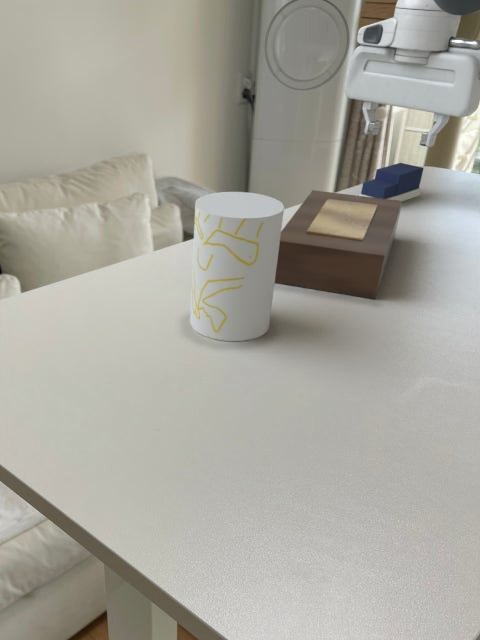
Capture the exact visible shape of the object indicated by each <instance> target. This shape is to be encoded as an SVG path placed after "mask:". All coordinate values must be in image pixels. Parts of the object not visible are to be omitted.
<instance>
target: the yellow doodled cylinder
mask: <svg viewBox="0 0 480 640" xmlns="http://www.w3.org/2000/svg"><path fill="white" fill-rule="evenodd" d="M284 211H285V205H284V204H283V202H281V201H280V200H279V199H277V198H274V197H273V196H272V197H271V196H268V195H265V194H260V193H256V192H255V193H254V192H247V191H246V192H245V191H222V192H221V191H220V192H212V193H208V194H205V195H202V196H200V197H198V198H197V199H196V200H195V204H194V222H193V223H194V224H193V225H194V226H193V243H192V245H193V246H192V265H191V270H192V271H191V285H190V287H191V288H190V293H191V294H190V307H189V308H190V309H189V325H190V326H191V328H192V329H193V330H194V331H195V332H196V333H198V334H199V335H202V336H204V337H206V338H210V339H212V340H218V341H222V342H245V341H251V340H254V339H257V338H259V337H262V336H263V335H265V334H266V333H267V332H268V331H269V329H270V321H271V314H272V307H273V299H274V290H275V284H276V283H275V275H276V268H277V260H278V252H279V244H280V236H281V231H282V227H283V220H284Z"/></svg>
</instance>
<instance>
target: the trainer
mask: <svg viewBox="0 0 480 640" xmlns="http://www.w3.org/2000/svg"><path fill="white" fill-rule="evenodd" d="M423 172H424V167H423V166H417V165H412V164H408V163H405V162H404V163H403V162H399V163H394V164H391V165H387V166H384V167H380V168H377V169H376V171H375V176H374V178H373V179H370V180H367V181H364V182H363V183H362V187H361V192H360V193H359V194H358V196H365V197H373V198H381V199H389V200H398V201H402V202H406V201H408V200H411V199H414V198H417V197H420V195H421V191H422V187H420V184H421V180H422V177H423Z"/></svg>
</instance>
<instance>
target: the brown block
mask: <svg viewBox="0 0 480 640" xmlns="http://www.w3.org/2000/svg"><path fill="white" fill-rule="evenodd" d="M402 205H403V201H398V200H389V199H381V198H373V197H365V196H359V195H355V194H349V193H348V194H347V193H339V192H331V191H324V190H323V191H322V190H315V189H312V190H311V192H310V193H309V194H308V195H307V197H306V198H305V199H304V201H303V202H302V203H301V205H300V206H299V207H298V209H297V210H296V211H295V213H294V214H293V215H292V217H291V218H290V219H289V221H288V222H287V223H286V224H285V226H284V227H283V229H281V236H280V244H279V252H278V260H277V268H276V275H275V283H274V284H280V285H281V284H282V285H287V286H293V287H299V288H306V289H312V290H317V291H323V292H330V293H335V294H342V295H347V296H354V297H359V298H365V299H366V298H367V299H370V300H371V299H372V300H376V297H377V294H378V291H379V287H380V285H381V281H382V278H383V276H384V272H385V269H386V265H387V263H388V260H389V259H388V258H389V256H390V253H391V250H392V246H393V243H394V240H395V237H396V232H397V228H398V224H399V219H400V214H401V210H402Z"/></svg>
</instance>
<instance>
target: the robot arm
mask: <svg viewBox="0 0 480 640" xmlns="http://www.w3.org/2000/svg"><path fill="white" fill-rule="evenodd" d="M395 3H396V4H395V8H394V11H393V12H394V13H393V16H392V17H389V18H386V19H383V20H380V21H377V22H374V23H371V24H367V25H364V26H362V27H360V28H359V29H358V32H357V37H356V40H357V41H356V42H357V43H358V44H359V46H357V47H356V48H355V49H354V50H353V52H352V54H351V57H350V59H349V63H348V67H347V71H346V75H345V80H344V87H343V90H344V93H345V96H346V97H347V99H351V100H357V101H362V102H363V103H362V108H361V110H362V114H363V117H364V121H365V127H364V134H365V135H367V136H377V135H378V134H379V132H380V127H381V124H382V123H381V122H380V121H377V119H376V113H375V110H377V109H378V108H379V104H380V105H387V106H391V107H393V106H394V107H398V108H404V109H410V110H415V111H420V112H427V113H432V114H433V118H432V121H433V122H435V123H434V124H433V125H432V127H431V128H430V129H429V131H425V132H421V137H420V138H421V139H420V141H419V146H420V147H421V146H422V147H427V148H432V147H434V145H435V144H436V139H437V136H438V134H439V133H440V132H441V131H442V129H443V128H444V127H445V126H446V125H447V124H448V122H449V120H450V117H455V118H466V117H470V116H472V115H473V114H474V113H475V112H476V111H477V110H478V108H479V107H480V39H468V38H465V37H457V34H458V30H459V26H460V23H461V18H462V16H468V15H471V14H476V13H480V0H397V1H396V2H395Z"/></svg>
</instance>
